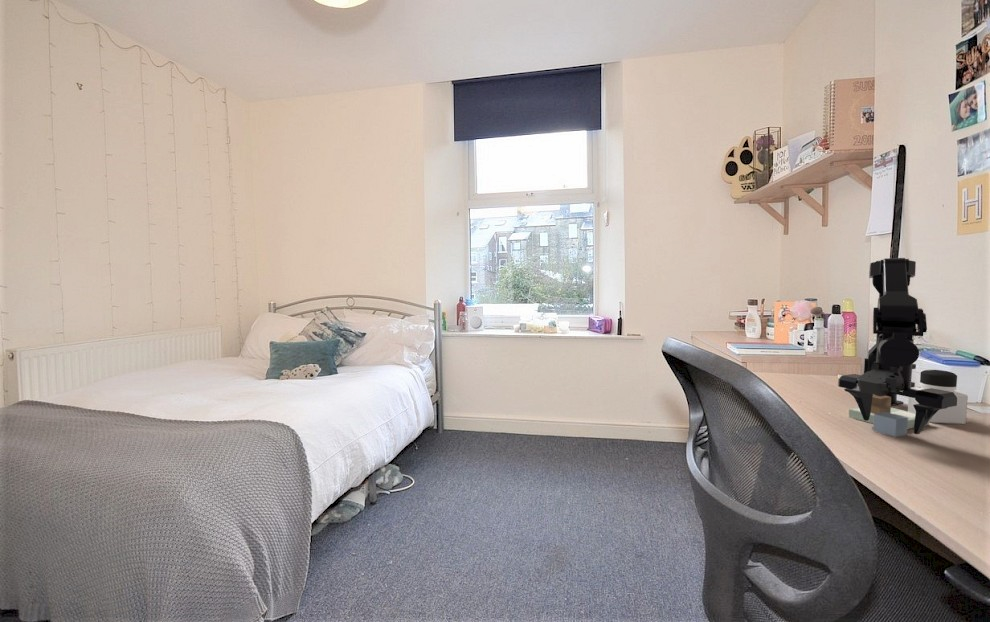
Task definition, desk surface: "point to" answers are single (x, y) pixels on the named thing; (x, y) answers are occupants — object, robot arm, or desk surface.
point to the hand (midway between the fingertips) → (890, 426)
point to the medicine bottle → (946, 383)
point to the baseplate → (857, 414)
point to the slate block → (890, 424)
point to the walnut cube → (880, 404)
